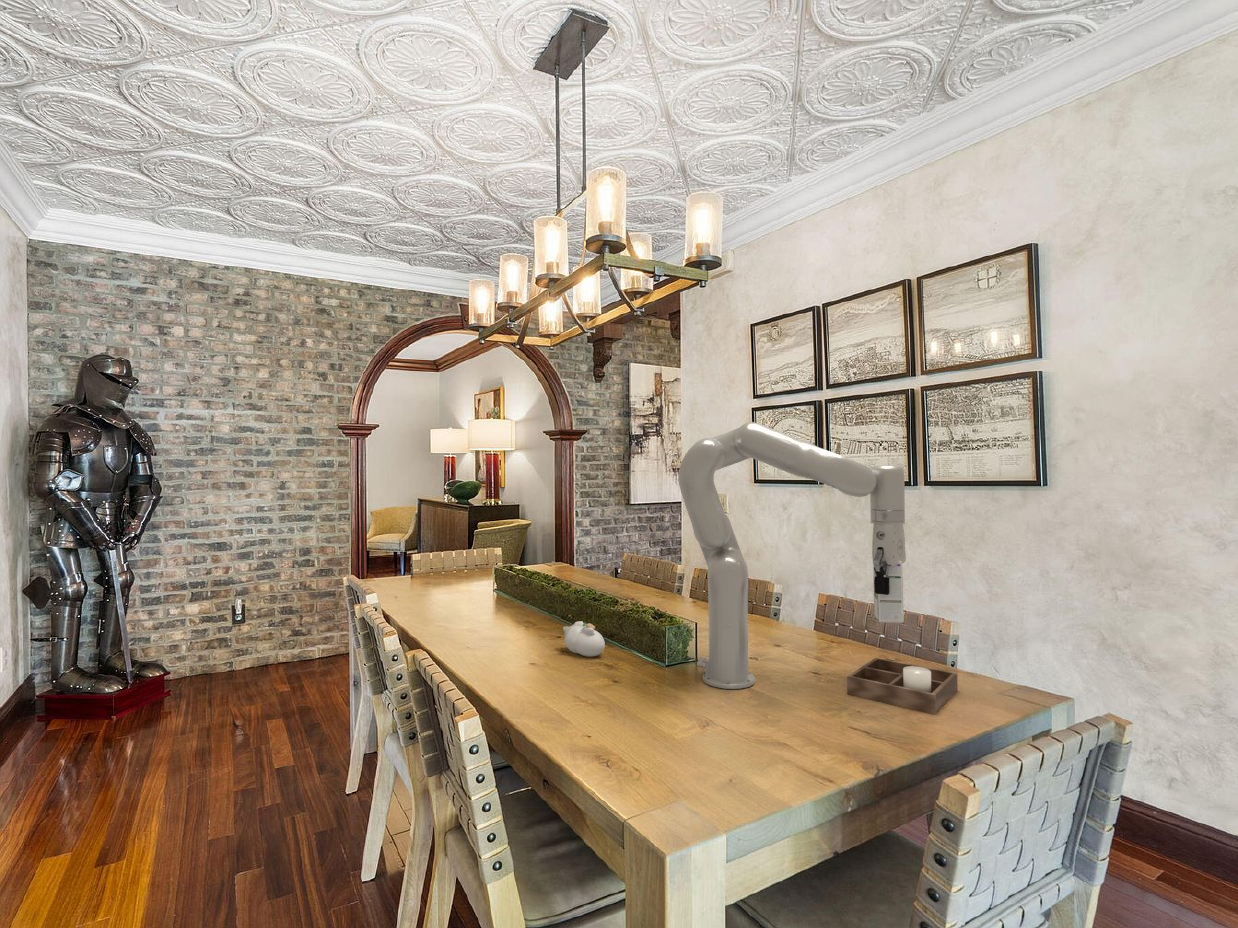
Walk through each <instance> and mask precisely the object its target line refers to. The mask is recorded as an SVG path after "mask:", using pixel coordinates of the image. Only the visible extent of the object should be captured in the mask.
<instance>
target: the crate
mask: <svg viewBox="0 0 1238 928" xmlns="http://www.w3.org/2000/svg"><path fill="white" fill-rule="evenodd" d="M908 666H916V667H922V668H926V669H929V670H930V671H931V693H929V692H924V691H919V690H914V689H910V688H905V687H903V668H904V667H908ZM958 684H959V683H958V672H954V671H948V670H945V669H938V668H933V667H928V666H922V665H915V664H912V663H906V662H901V661H897V660H890V659H886V658H885V659H884V658H880V657H879V658H878V657H874V658H873V659H871V660H869V661H868V662H867V663H865V664H864V665H862V666H861V667H859V668H857V669H856V670H855V671H853V672H852V673H849V675H847V676H846V694H847V695H848V696H853V697H855V698H861V699H865V700H870V701H874V702H879V703H884V704H886V705H887V704H888V705H892V706H896V707H900V708H904V709H909V710H912V711H917V712H923V713H926V714H930V715H935V716H936V714H937V713H938V712H939V711H940V710H941V709H942V708H943V707H944V705H946V704H947V702H949V701H950V699H952V697H953V696H954V695H956V693H957V692H958V686H959V685H958Z"/></svg>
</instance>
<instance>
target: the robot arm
mask: <svg viewBox="0 0 1238 928" xmlns="http://www.w3.org/2000/svg"><path fill="white" fill-rule="evenodd" d="M748 459H754V460H756V461H759V462H761V463H763V464H766V465H769V466H771V467H773V468H776V469H777V470H778V469H779V470H781V471H783V472H785V473H788V474H791V475H793V476H796V477H799V478H805V479H809V480H813V481H816V482H818V483H821V484H823V485H827V486H829V487H831V488H834V489H836V490H839V492H841V493H842V494H844V495H847V496H850V497H855V498H863V497H866V496H868V495H870V496H869V497H870V498H869V499H870V509H869V510H870V523H871V524H873V525H872V527H873V528H872V543H871V559H872V563H873V564H874V571H875V572H874V576H875V593H876V594H884V595H889V593H890V591H889V577H888V572H889V566H890V565H891V567H895V566H897V565H898V561H901V562H902V565H903V564H904V563H906V561H907V560H906V559H907V557H906V540H905V538H906V537H905V529H904V525H905V524H906V519H905V517H906V516H905V515H906V514H905V513H906V511H905V510H906V509H905V507H906V506H905V505H906V503H905V470H904V468H903V467H902V466H901V465H893V464H892V465H891V464H889V465H882V464H881V465H875V466H867V465H865V464H863V463H861V462H858V461H856V460H853V459H850V458H848V457H846V456H843V455H840V454H838V453H835V452H832V451H829V450H826V449H825V448H821V447H819V446H817V445H815V444H812V443H810V442H807V441H805V440H802V439H799V438H797V437H794V436H792V435H789V434H786V433H784V432H781V431H779V430H777V429H774V428H772V427H769V426H767V425H764V424H762V423H760V422H754V421H750V422H749V421H748V422H745V423H744V424H742V425H741V426H739V427H737V428H734V429H733V430H731V431H730V430H729V431H727V432H725V433H722V434H718V435H716V436H713V437H710V438H709V437H707V438H706V437H705V438H702V439H699V440H696V442H695V443H694V444H693V445H692V446H691V447H690V448H689V449H688V451H687V452H686V453H685V454H684V456H683V458H682V460H681V462H680V464H679V470H678V485H679V490H680V492H681V497H682V500H683V502H684V505H685V508H686V509H685V510H686V512H687V514H688V517H689V520H690V522H691V527H692V529H693V530H692V531H693V535H694V537H695V539H696V541H697V542H698V544H699V547H700V550H701V552H702V555H703V557H704V561H705V563H706V565H707V591H708V592H707V594H708V596H707V599H708V600H707V601H708V602H707V603H708V605H707V607H708V609H707V610H708V611H707V612H708V658H706V657H702V656H699V657H698V658H697V663H696V666H697V667H698V668H702V669H704V671H705V672H704V673H703V674H702V680H703V682H704V683H705V684H707V685H709V686H711V687H715V688H719V689H727V690H728V689H729V690H737V689H738V690H740V689H745V688H748V687H751V686H753V685H754V684H755V683H756V678H755V676H754V674H753V673H751V672H749V625H748V624H749V622H748V621H749V620H748V619H749V618H748V616H749V615H748V613H749V611H748V609H749V608H748V597H749V596H748V594H749V593H748V591H749V588H748V587H749V572H748V571H749V570H748V566H747V563H746V560H745V558H744V556H743V552H742V551H741V550H742V549H740V545H739V542H738V540H737V538H736V535H735V532H734V529H733V526H732V524H731V521H730V519H729V517H728V515H727V514H726V512H725V509H724V508H723V506H722V502H721V500H720V497H719V493H718V490H717V488H716V485H715V481H714V478H715V477H714V476H715V473H716V471H719V470H722V469H723V468H726V467H729V466H733V465H735V464H739V463H741V462H743V461H747V460H748ZM881 561H883V562H886V563H887V564H883V563H881ZM873 564H872V565H873ZM883 568H885V571H884V569H883Z"/></svg>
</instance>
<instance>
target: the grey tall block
mask: <svg viewBox="0 0 1238 928" xmlns="http://www.w3.org/2000/svg"><path fill="white" fill-rule="evenodd" d="M881 563H883V564H887V563H886V562H883V561H881ZM872 569H873V570H872V572H873V575H872V576H873V615H874V618H875V620H877V621H878V622H879V623H888V624H889V623H890V624H904V621H905V620H904V613H905V612H904V581H903V579H904V578H903V564H902V562H901V561H898V565H897V566H895V567H891V565H890V566H889V572H888V577H889V591H890V593H889V595H884V594H876V593H875V576H874V572H875V571H874V564H872ZM883 569H884V571H885V568H883Z"/></svg>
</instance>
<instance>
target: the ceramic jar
mask: <svg viewBox="0 0 1238 928" xmlns="http://www.w3.org/2000/svg"><path fill="white" fill-rule="evenodd" d="M903 687H905V688H910V689H914V690H919V691H924V692H929V693H931V671H930V670H929V669H926V668H922V667H916V666H908V667H904V668H903Z"/></svg>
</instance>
